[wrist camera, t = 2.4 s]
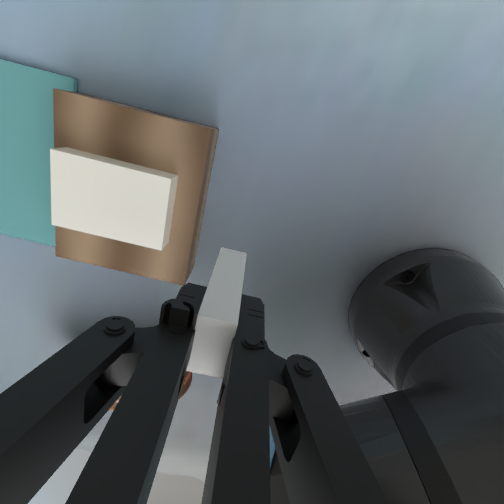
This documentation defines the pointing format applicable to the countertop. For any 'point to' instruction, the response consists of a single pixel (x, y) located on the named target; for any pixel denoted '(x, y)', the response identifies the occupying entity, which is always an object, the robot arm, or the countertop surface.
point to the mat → (27, 150)
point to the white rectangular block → (111, 198)
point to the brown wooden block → (144, 154)
